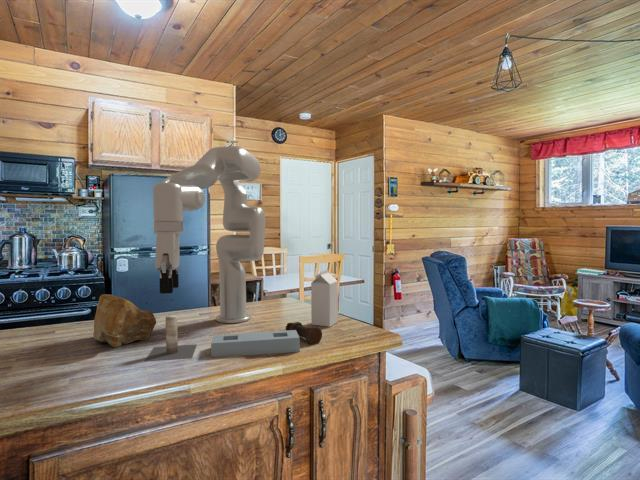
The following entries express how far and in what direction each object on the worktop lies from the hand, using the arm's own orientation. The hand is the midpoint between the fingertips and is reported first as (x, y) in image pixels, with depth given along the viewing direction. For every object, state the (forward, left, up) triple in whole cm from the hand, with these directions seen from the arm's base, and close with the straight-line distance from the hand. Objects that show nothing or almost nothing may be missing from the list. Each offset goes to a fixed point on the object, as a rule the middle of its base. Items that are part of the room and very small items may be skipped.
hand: (169, 290), depth 110 cm
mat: (0, 0, -18) cm, 18 cm away
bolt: (-7, +38, -18) cm, 43 cm away
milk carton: (-22, +48, -18) cm, 56 cm away
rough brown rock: (-16, -16, -18) cm, 29 cm away
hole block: (+2, +23, -18) cm, 29 cm away
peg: (0, 0, -18) cm, 18 cm away
